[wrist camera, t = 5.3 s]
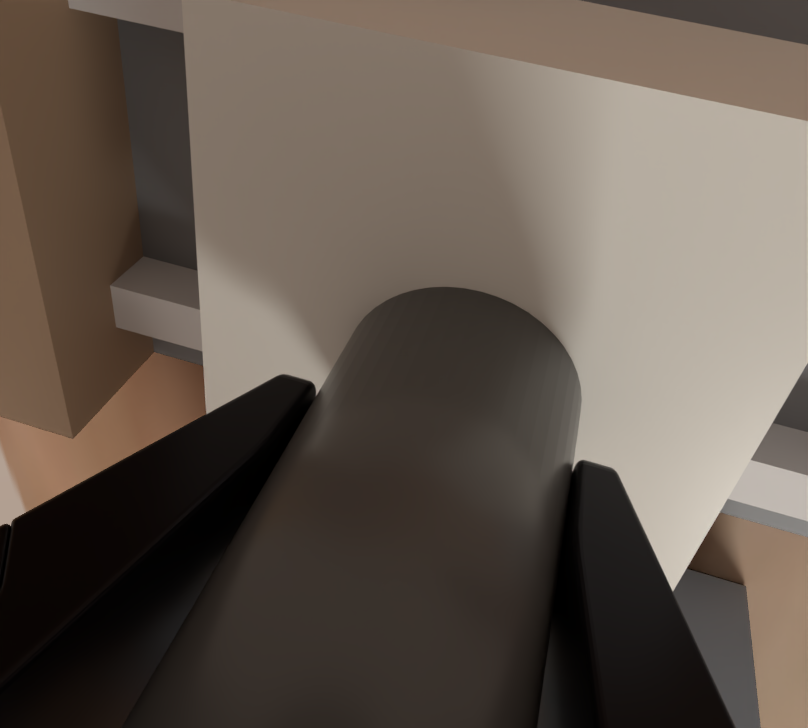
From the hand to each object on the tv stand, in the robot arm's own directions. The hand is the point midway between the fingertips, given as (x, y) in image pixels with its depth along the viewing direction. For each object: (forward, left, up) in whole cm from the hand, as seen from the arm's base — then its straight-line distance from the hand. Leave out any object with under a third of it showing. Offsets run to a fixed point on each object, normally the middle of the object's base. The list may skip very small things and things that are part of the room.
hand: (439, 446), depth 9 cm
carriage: (0, 0, -4) cm, 4 cm away
